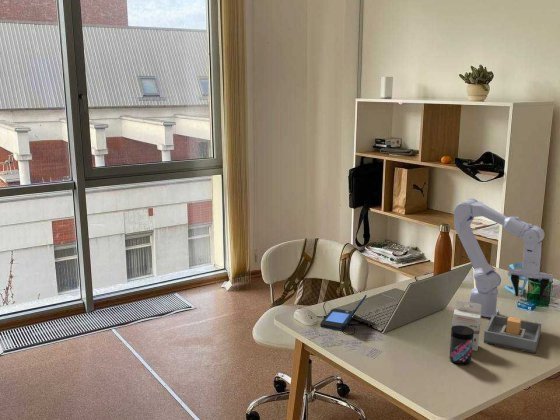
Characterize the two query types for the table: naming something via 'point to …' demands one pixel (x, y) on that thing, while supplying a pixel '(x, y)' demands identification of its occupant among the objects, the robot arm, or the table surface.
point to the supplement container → (461, 344)
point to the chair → (519, 279)
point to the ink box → (468, 319)
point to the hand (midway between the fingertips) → (528, 297)
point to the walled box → (523, 344)
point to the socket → (522, 333)
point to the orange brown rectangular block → (513, 325)
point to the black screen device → (339, 318)
